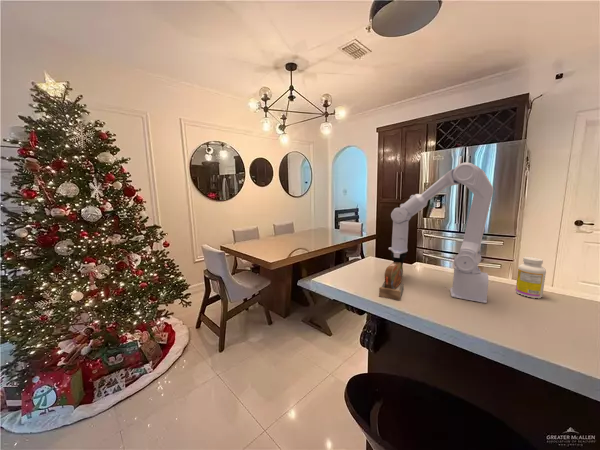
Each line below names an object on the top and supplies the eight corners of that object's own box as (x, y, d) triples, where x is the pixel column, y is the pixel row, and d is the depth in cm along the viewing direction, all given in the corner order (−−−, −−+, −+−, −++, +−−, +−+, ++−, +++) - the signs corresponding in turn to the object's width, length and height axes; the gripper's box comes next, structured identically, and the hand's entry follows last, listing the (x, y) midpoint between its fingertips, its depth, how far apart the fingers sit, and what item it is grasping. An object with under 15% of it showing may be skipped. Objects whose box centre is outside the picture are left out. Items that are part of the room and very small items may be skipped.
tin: (391, 293, 82) (392, 270, 81) (382, 291, 84) (383, 268, 83) (403, 280, 94) (404, 260, 92) (395, 279, 96) (396, 259, 94)
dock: (403, 289, 86) (404, 281, 85) (399, 300, 77) (400, 291, 76) (384, 285, 89) (385, 278, 89) (379, 296, 80) (379, 287, 80)
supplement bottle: (522, 289, 85) (527, 255, 83) (547, 297, 78) (552, 260, 77) (510, 292, 83) (515, 256, 81) (534, 300, 76) (539, 262, 75)
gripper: (392, 234, 102) (390, 264, 104) (386, 240, 89) (384, 274, 91) (410, 235, 98) (408, 267, 100) (406, 242, 86) (404, 277, 88)
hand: (398, 270), depth 95 cm, fingers closed
